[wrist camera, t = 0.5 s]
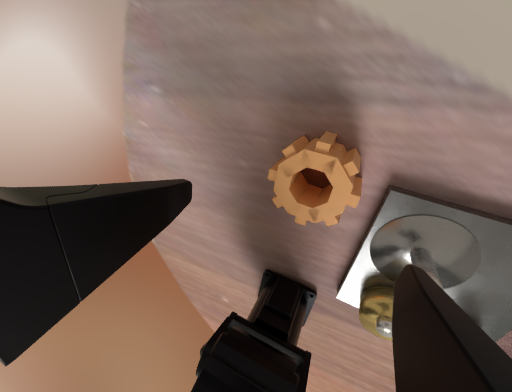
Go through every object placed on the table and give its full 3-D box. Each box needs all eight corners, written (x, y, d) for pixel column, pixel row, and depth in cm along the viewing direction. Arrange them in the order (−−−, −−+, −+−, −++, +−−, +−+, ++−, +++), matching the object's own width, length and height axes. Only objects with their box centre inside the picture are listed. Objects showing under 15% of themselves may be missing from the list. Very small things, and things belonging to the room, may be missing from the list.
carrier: (466, 350, 21) (497, 432, 16) (336, 292, 24) (328, 344, 19) (594, 243, 14) (714, 328, 9) (389, 185, 18) (397, 223, 13)
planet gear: (346, 216, 20) (341, 241, 17) (276, 192, 22) (260, 210, 19) (376, 143, 17) (378, 157, 14) (291, 123, 19) (275, 131, 16)
